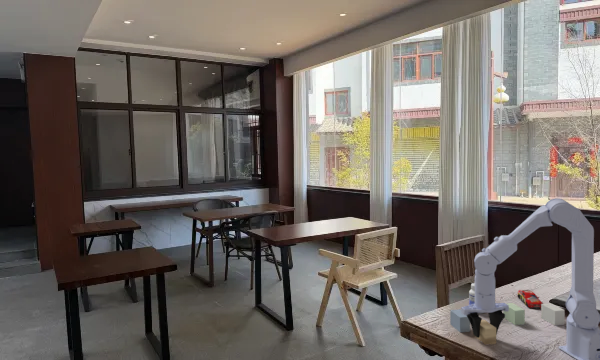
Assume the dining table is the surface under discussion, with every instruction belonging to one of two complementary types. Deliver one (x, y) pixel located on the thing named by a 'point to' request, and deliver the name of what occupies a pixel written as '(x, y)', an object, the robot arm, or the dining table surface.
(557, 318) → the grey brick
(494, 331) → the oak brick
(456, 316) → the slate-blue brick
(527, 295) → the race car
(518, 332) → the dining table surface
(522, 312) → the sage brick
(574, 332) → the robot arm
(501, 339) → the dining table surface
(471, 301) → the pill bottle
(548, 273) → the dining table surface
